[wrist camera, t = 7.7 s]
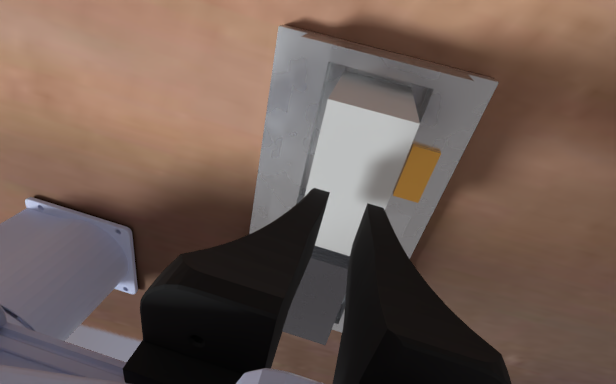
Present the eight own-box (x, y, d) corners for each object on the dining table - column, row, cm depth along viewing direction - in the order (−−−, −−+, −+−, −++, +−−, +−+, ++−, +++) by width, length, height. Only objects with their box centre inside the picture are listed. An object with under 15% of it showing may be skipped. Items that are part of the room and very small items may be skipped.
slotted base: (246, 274, 28) (220, 325, 23) (284, 24, 18) (250, 33, 13) (376, 315, 27) (373, 375, 23) (493, 78, 17) (527, 105, 13)
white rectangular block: (315, 185, 21) (294, 239, 16) (344, 70, 17) (327, 98, 12) (370, 200, 21) (364, 260, 16) (411, 88, 17) (419, 123, 12)
